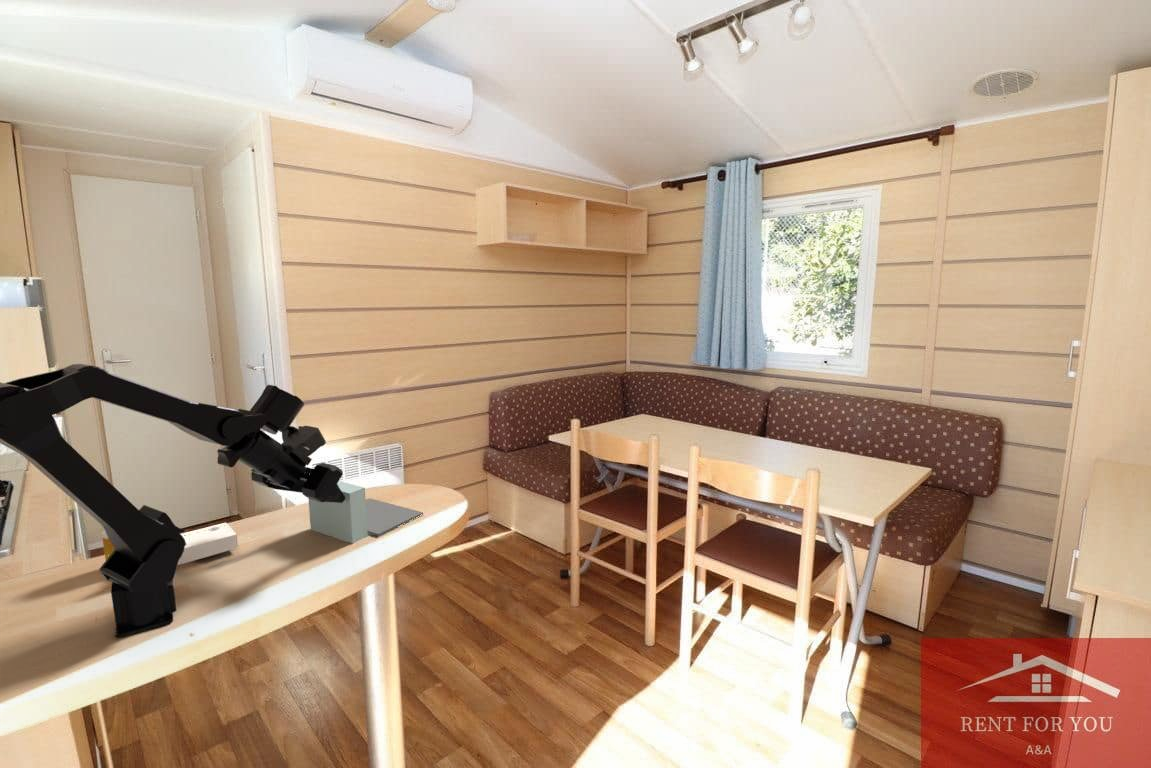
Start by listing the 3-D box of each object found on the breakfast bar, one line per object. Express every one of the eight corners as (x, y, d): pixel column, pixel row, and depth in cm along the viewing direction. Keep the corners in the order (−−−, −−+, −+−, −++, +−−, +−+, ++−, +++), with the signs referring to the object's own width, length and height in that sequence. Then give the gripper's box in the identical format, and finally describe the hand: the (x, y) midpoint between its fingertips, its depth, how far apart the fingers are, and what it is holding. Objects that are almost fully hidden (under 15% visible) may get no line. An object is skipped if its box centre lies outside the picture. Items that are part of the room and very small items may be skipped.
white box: (149, 578, 92) (143, 535, 91) (142, 563, 97) (136, 522, 96) (238, 552, 101) (234, 513, 100) (227, 540, 106) (223, 502, 105)
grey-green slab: (352, 544, 105) (349, 493, 103) (310, 530, 111) (307, 482, 109) (367, 536, 108) (364, 487, 106) (326, 523, 114) (322, 476, 112)
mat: (378, 536, 108) (378, 533, 108) (323, 519, 115) (323, 517, 115) (423, 515, 118) (423, 512, 118) (369, 500, 126) (369, 498, 126)
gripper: (329, 422, 94) (383, 466, 105) (260, 409, 103) (318, 451, 114) (290, 481, 89) (352, 520, 100) (221, 462, 97) (286, 501, 109)
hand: (326, 495), depth 106 cm, fingers open, 9 cm apart
